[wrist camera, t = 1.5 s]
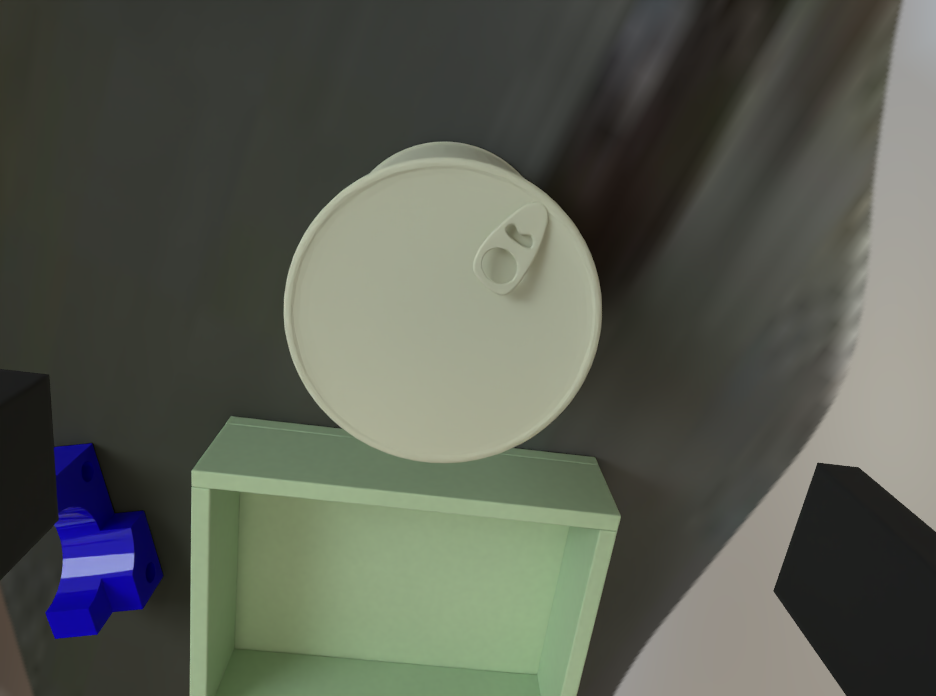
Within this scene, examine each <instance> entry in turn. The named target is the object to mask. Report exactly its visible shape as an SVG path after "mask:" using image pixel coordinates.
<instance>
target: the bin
mask: <svg viewBox="0 0 936 696" xmlns="http://www.w3.org/2000/svg"><path fill="white" fill-rule="evenodd" d="M191 485H192V490H191V612H190V696H577V692H578V688H579V684H580V680H581V676H582V672H583V668H584V663H585V659H586V655H587V651H588V647H589V643H590V639H591V635H592V631H593V627H594V623H595V619H596V615H597V611H598V607H599V603H600V599H601V595H602V591H603V587H604V583H605V579H606V575H607V570H608V566H609V562H610V558H611V554H612V550H613V546H614V542H615V538H616V534H617V530H618V526H619V522H620V518H621V515H620V513H619V511H618V508H617V506H616V504H615V502H614V499H613V497H612V495H611V493H610V490H609V488H608V486H607V483H606V481H605V479H604V477H603V474H602V472H601V470H600V468H599V466H598V462H597V460H596V458H595V457H588V456H579V455H570V454H562V453H553V452H544V451H535V450H526V449H517V448H511V449H509V450H507V451H505V452H502V453H499V454H497V455H493V456H490V457H486V458H483V459H479V460H473V461H467V462H458V463H429V462H420V461H413V460H409V459H405V458H400V457H397V456H394V455H391V454H388V453H385V452H383V451H380V450H378V449H376V448H373V447H371V446H369V445H367V444H365V443H364V442H362V441H360V440H358V439H357V438H355V437H354V436H352V435H351V434H349V433H348V432H346V431H345V430H344V429H340V428H331V427H322V426H313V425H304V424H295V423H286V422H277V421H268V420H260V419H251V418H242V417H233V416H231V417H230V418H229V420H228V421H227V422H226V424H225V426H224V427H223V428H222V430H221V431H220V432H219V434H218V435H217V437H216V438H215V439H214V441H213V442H212V443H211V445H210V446H209V448H208V449H207V450H206V452H205V453H204V454H203V456H202V457H201V459H200V460H199V461H198V463H197V464H196V465H195V467H194V468H193V470H192V482H191Z"/></svg>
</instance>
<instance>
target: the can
mask: <svg viewBox="0 0 936 696" xmlns="http://www.w3.org/2000/svg"><path fill="white" fill-rule="evenodd" d="M601 322H602V297H601V290H600V284H599V278H598V274H597V271H596V267H595V264H594V261H593V258H592V256H591V253H590V251H589V249H588V247H587V245H586V242H585V240H584V239H583V237H582V235H581V234H580V232H579V230H578V229H577V227H576V226H575V224H574V223H573V222H572V220H571V219H570V218H569V216H568V215H567V214H566V213H565V212H564V211H563V210H562V208H561V207H560V206H559V205H558V204H557V203H556V202H555V201H554V200H553V199H552V198H551V197H549V196H548V195H547V194H546V193H545V192H543V191H542V190H541V189H540V188H538V187H537V186H535V185H534V184H532V183H531V182H529V181H528V180H526V179H524V178H523V177H522V176H521V175H520V174H519V173H518V172H517V171H516V170H515V169H514V168H513V167H512V166H511V165H509V164H508V163H507V162H505V161H504V160H503V159H501V158H499V157H498V156H496V155H494V154H493V153H491V152H488V151H486V150H484V149H481V148H479V147H476V146H472V145H468V144H464V143H457V142H431V143H424V144H420V145H416V146H413V147H410V148H407V149H405V150H402V151H400V152H398V153H396V154H394V155H392V156H391V157H389V158H388V159H386V160H385V161H383V162H382V163H381V164H379V165H378V166H377V167H376V168H375V169H374V170H373V171H371V173H370V174H368V175H366V176H364V177H362V178H361V179H359V180H357V181H355V182H354V183H353V184H351V185H350V186H348V187H347V188H345V189H344V190H343V191H341V192H340V193H339V194H338V195H337V196H336V197H334V198H333V199H332V200H331V201H330V202H329V203H328V204H327V205H326V206H325V207H324V208H323V209H322V210H321V212H320V213H319V214H318V215H317V216H316V218H315V219H314V220H313V222H312V223H311V225H310V226H309V228H308V229H307V230H306V232H305V234H304V236H303V238H302V240H301V241H300V243H299V245H298V247H297V249H296V252H295V254H294V257H293V259H292V262H291V266H290V269H289V272H288V277H287V281H286V288H285V295H284V324H285V332H286V337H287V342H288V346H289V350H290V353H291V357H292V360H293V362H294V365H295V367H296V369H297V372H298V374H299V376H300V378H301V380H302V381H303V383H304V385H305V387H306V389H307V390H308V392H309V393H310V395H311V396H312V397H313V399H314V400H315V402H316V403H317V404H318V405H319V406H320V408H321V409H322V410H323V411H324V412H325V413H326V414H327V415H328V416H329V417H330V418H331V419H332V420H333V421H334V422H335V423H336V424H338V425H339V426H340V427H341V428H342V429H344V430H345V431H346V432H348V433H349V434H351V435H352V436H354V437H355V438H357V439H358V440H360V441H362V442H364V443H365V444H367V445H369V446H371V447H373V448H376V449H378V450H380V451H383V452H385V453H388V454H391V455H394V456H397V457H400V458H405V459H409V460H413V461H420V462H429V463H458V462H467V461H473V460H479V459H483V458H486V457H490V456H493V455H497V454H499V453H502V452H505V451H507V450H509V449H511V448H513V447H515V446H517V445H520V444H522V443H523V442H525V441H527V440H528V439H530V438H532V437H533V436H535V435H536V434H538V433H539V432H540V431H542V430H543V429H544V428H545V427H547V426H548V425H549V424H550V423H551V422H552V421H553V420H554V419H556V418H557V417H558V416H559V415H560V414H561V413H562V412H563V411H564V409H565V408H566V407H567V406H568V405H569V403H570V402H571V401H572V400H573V398H574V397H575V395H576V394H577V392H578V391H579V389H580V387H581V386H582V384H583V382H584V380H585V378H586V376H587V374H588V372H589V370H590V368H591V365H592V363H593V360H594V357H595V354H596V351H597V346H598V342H599V337H600V332H601Z"/></svg>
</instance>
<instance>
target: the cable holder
mask: <svg viewBox="0 0 936 696" xmlns="http://www.w3.org/2000/svg"><path fill="white" fill-rule="evenodd" d="M54 456H55V471H56V487H57V502H58V518H59V520H58V521H57V522H56V523H55V524H54V526H55V527H56V529H57V531H58V534H59V536H60V540H61V544H62V551H63V568H62V576H61V580H60V584H59V588H58V591H57V593H56V596H55V598H54V600H53V602H52V604H51V605H50V607H49V609H48V610H47V611H46V616H47V619H48V621H49V624H50V627H51V629H52V632H53V635H54V637H55V639H58V638H67V637H77V636H87V635H97V634H98V633H99V631H100V630H101V628H102V627H103V625H104V624H105V622H106V621H107V619H108V618H109V617H110V615H111V614H112V612H118V611H128V610H138V609H143V608H144V606H145V605H146V603H147V602H148V600H149V598H150V597H151V595H152V594H153V592H154V590H155V589H156V587H157V585H158V584H159V582H160V581H161V579H162V577H163V573H162V570H161V566H160V563H159V560H158V556H157V553H156V550H155V546H154V543H153V539H152V536H151V533H150V529H149V526H148V523H147V519H146V516H145V513H144V511H135V512H126V513H116V514H114V510H113V507H112V504H111V501H110V498H109V495H108V491H107V488H106V485H105V482H104V479H103V476H102V472H101V469H100V466H99V463H98V460H97V457H96V453H95V450H94V447H93V444H92V443H89V444H79V445H70V446H60V447H54Z"/></svg>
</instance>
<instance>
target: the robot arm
mask: <svg viewBox="0 0 936 696" xmlns="http://www.w3.org/2000/svg"><path fill="white" fill-rule="evenodd" d="M58 520H59V518H58V502H57V487H56V471H55V456H54V441H53V425H52V410H51V394H50V379H49V375H47V374H38V373H30V372H21V371H12V370H4V369H0V580H1V579H2V578H3V577H4V576H5V575H6V574H7V573H8V572H9V571H10V570H11V569H12V568H13V567H14V566H15V564H16V563H17V562H18V561H19V560H20V559H21V558H22V557H23V556H24V555H25V554H26V553H27V552H28V551H29V550H30V549H31V548H32V547H33V546H34V545H35V544H36V543H37V542H38V541H39V540H40V539H41V538H42V537H43V536H44V535H45V534H46V533H47V532H48V531H49V530H50V529H51V528H52V527H53V525H54V524H55V523H56V522H57V521H58ZM774 593H775V594H776V595H777V597H778V598H779V600H780V601H781V602H782V604H783V605H784V607H785V608H786V610H787V611H788V613H789V614H790V615H791V617H792V618H793V620H794V621H795V623H796V624H797V626H798V627H799V628H800V630H801V631H802V633H803V634H804V635H805V637H806V638H807V640H808V641H809V643H810V644H811V646H812V647H813V648H814V650H815V651H816V653H817V654H818V655H819V657H820V658H821V660H822V661H823V663H824V664H825V666H826V667H827V668H828V670H829V671H830V673H831V674H832V676H833V677H834V679H835V680H836V681H837V683H838V684H839V686H840V687H841V688H842V690H843V691H844V693H845V694H846V696H936V532H935V531H934V530H933V529H931V528H930V527H929V526H928V525H926V523H924V522H923V521H922V520H921V519H920V518H918V517H917V516H916V515H915V514H914V513H912V512H911V511H910V510H909V509H908V508H906V507H905V506H904V505H903V504H902V503H900V502H899V501H898V500H897V499H896V498H894V497H893V496H892V495H891V494H890V493H889V492H887V491H886V490H885V489H884V488H883V487H881V486H880V485H879V484H878V483H877V482H875V481H874V480H873V479H872V478H871V477H869V476H868V475H867V474H866V473H865V472H863V471H862V470H861V469H860V468H858V467H850V466H842V465H833V464H824V463H817V466H816V469H815V472H814V476H813V478H812V481H811V484H810V486H809V489H808V492H807V495H806V498H805V501H804V504H803V507H802V510H801V513H800V516H799V518H798V521H797V524H796V527H795V530H794V533H793V536H792V539H791V542H790V545H789V548H788V550H787V553H786V556H785V559H784V562H783V565H782V568H781V571H780V573H779V576H778V580H777V582H776V585H775V588H774Z"/></svg>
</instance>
